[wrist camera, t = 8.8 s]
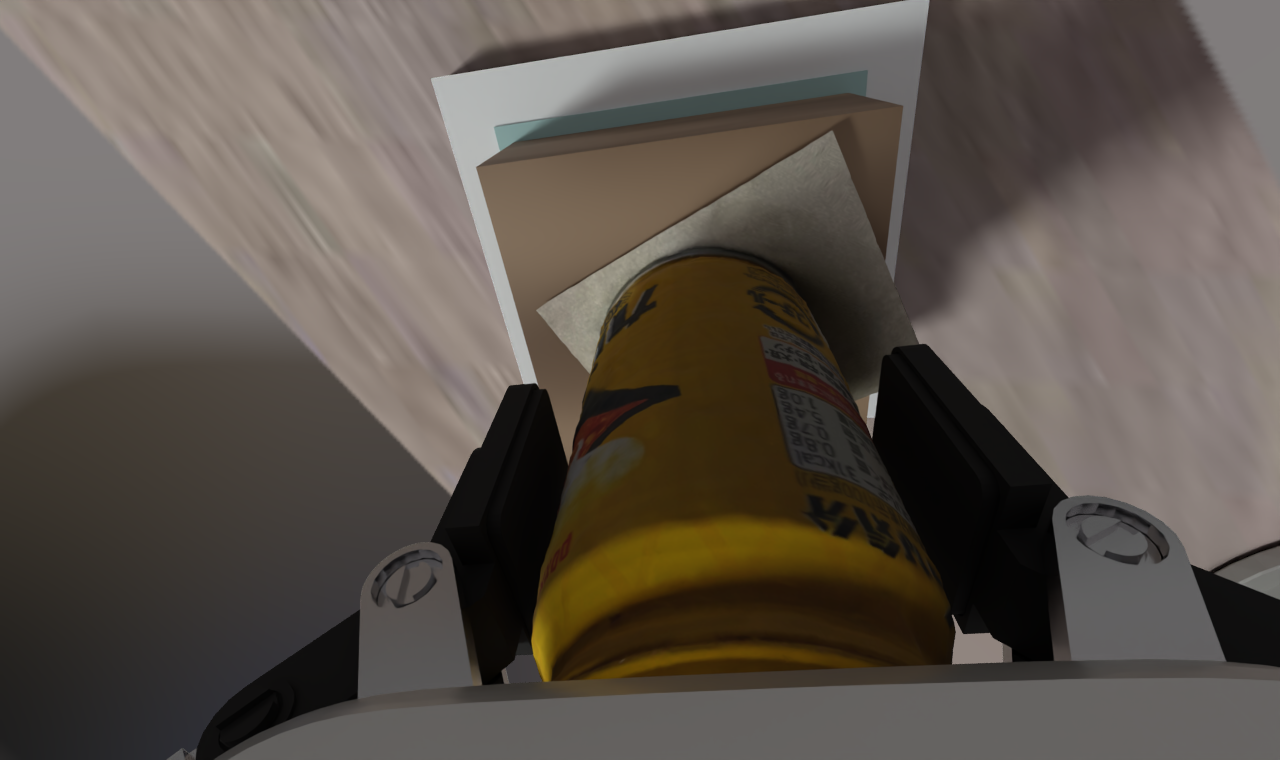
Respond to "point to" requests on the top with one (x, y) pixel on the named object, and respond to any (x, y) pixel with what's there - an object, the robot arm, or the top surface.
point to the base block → (654, 200)
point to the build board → (683, 98)
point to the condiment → (737, 450)
